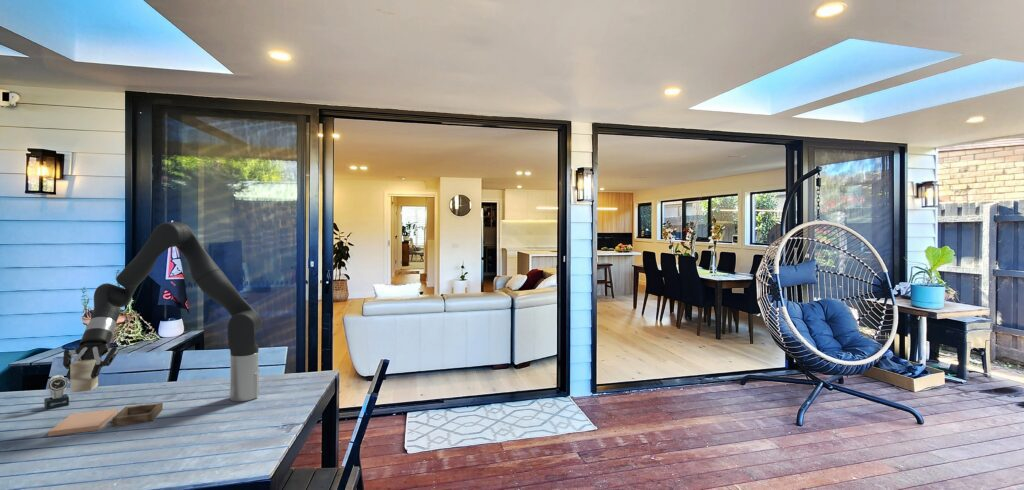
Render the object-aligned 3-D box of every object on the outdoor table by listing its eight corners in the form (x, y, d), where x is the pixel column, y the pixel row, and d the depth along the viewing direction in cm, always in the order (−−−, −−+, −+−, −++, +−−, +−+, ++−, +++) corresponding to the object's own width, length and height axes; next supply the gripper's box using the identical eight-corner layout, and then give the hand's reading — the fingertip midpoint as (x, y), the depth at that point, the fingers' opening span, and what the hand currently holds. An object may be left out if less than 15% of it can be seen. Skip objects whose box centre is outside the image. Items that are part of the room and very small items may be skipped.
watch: (47, 411, 151) (47, 380, 151) (43, 406, 156) (43, 375, 156) (70, 406, 156) (70, 376, 156) (65, 401, 161) (65, 371, 160)
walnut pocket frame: (162, 409, 155) (162, 402, 155) (152, 421, 145) (152, 413, 145) (125, 413, 151) (125, 406, 151) (112, 426, 141) (112, 418, 141)
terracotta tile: (117, 413, 151) (117, 408, 151) (98, 429, 138) (98, 425, 138) (71, 418, 146) (71, 414, 146) (48, 436, 134) (48, 431, 134)
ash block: (98, 385, 146) (98, 358, 145) (90, 390, 141) (90, 363, 141) (78, 387, 143) (78, 360, 143) (70, 392, 139) (70, 364, 139)
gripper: (67, 328, 146) (47, 375, 135) (122, 325, 151) (106, 370, 141) (75, 340, 151) (56, 386, 140) (128, 337, 156) (113, 381, 146)
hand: (81, 378), depth 140 cm, fingers closed on ash block, 5 cm apart
